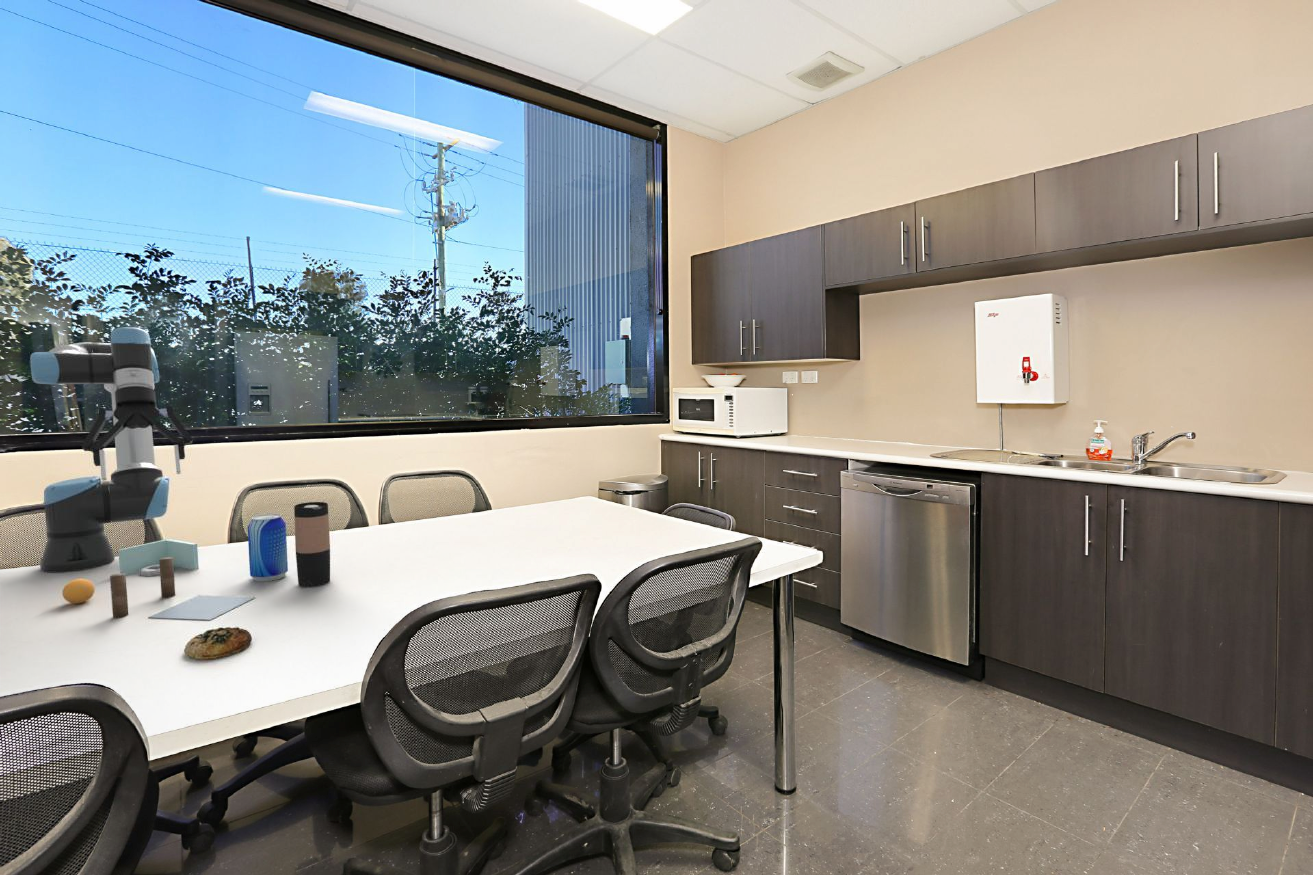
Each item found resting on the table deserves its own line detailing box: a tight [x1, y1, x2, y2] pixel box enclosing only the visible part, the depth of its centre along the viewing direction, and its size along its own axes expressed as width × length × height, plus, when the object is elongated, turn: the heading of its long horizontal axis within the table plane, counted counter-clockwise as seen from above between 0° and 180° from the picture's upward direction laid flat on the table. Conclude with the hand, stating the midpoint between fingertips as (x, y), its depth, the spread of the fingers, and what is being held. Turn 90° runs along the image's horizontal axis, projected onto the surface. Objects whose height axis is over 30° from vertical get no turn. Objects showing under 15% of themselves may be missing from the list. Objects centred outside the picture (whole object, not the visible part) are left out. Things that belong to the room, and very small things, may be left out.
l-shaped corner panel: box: [117, 538, 200, 577], centre depth 171 cm, size 12×12×8 cm
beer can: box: [247, 513, 289, 582], centre depth 167 cm, size 8×8×16 cm
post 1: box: [109, 572, 129, 619], centre depth 140 cm, size 3×3×9 cm
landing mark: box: [147, 594, 256, 622], centre depth 146 cm, size 14×14×1 cm
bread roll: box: [183, 626, 253, 661], centre depth 124 cm, size 11×11×5 cm
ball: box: [61, 578, 96, 604], centre depth 148 cm, size 6×6×6 cm
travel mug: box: [293, 501, 331, 588], centre depth 163 cm, size 8×8×20 cm
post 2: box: [159, 557, 176, 599], centre depth 153 cm, size 3×3×9 cm
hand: (142, 475), depth 151 cm, fingers open, 13 cm apart
